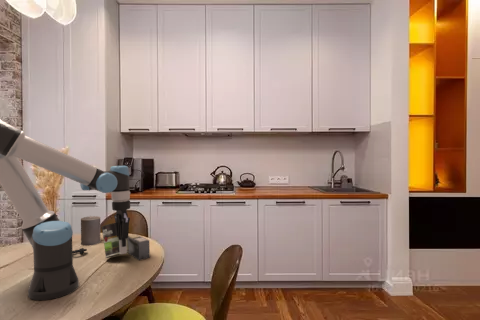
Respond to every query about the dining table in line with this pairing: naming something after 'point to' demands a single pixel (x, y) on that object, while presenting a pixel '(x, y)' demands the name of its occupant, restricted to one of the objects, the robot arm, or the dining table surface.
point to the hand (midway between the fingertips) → (123, 253)
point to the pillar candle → (90, 230)
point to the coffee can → (111, 240)
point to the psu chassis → (138, 247)
